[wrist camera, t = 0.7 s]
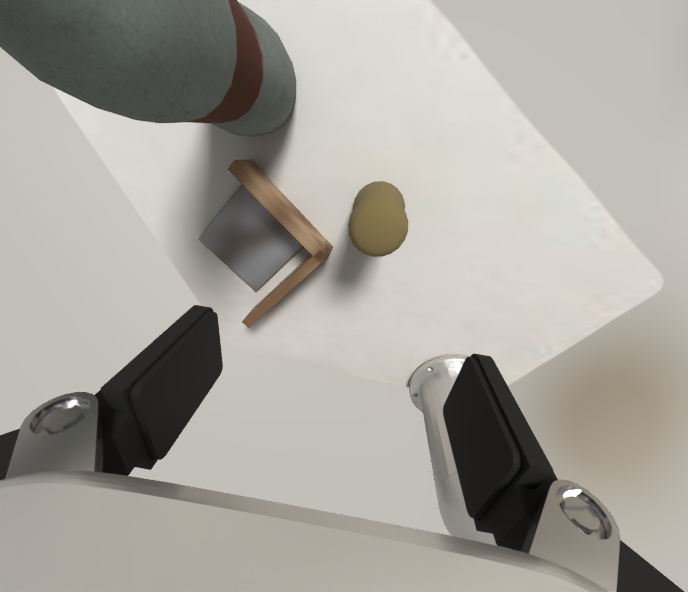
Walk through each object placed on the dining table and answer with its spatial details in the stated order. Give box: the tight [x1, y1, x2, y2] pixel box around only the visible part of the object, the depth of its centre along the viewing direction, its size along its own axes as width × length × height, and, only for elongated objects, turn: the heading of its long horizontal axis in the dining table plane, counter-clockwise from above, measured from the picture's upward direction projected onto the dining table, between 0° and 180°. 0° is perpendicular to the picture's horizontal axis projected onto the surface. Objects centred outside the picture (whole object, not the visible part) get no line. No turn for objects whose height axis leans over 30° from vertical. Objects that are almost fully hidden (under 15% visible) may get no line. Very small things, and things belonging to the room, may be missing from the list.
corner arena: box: [199, 160, 333, 328], centre depth 35 cm, size 14×15×4 cm
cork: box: [348, 181, 408, 257], centre depth 28 cm, size 6×6×11 cm
